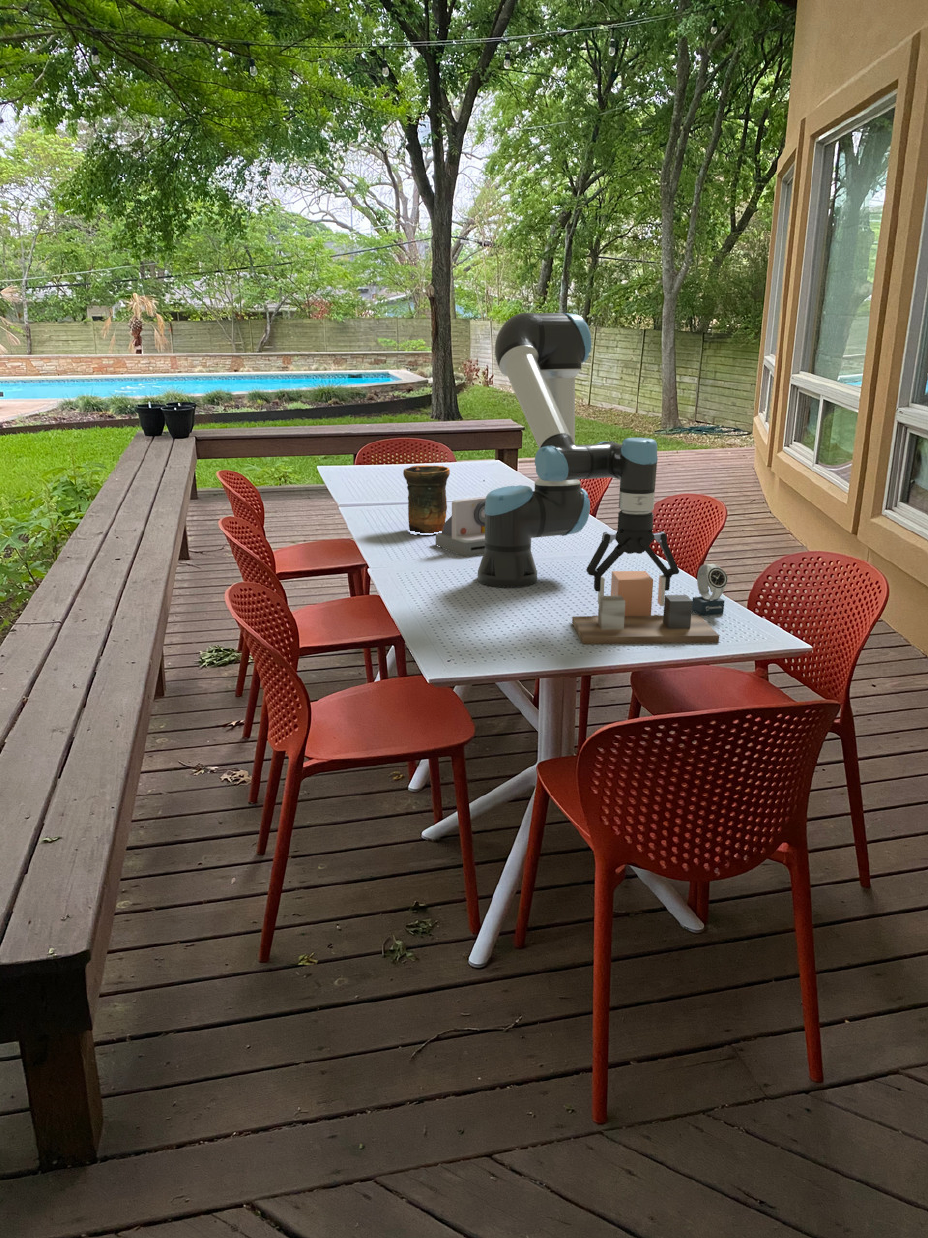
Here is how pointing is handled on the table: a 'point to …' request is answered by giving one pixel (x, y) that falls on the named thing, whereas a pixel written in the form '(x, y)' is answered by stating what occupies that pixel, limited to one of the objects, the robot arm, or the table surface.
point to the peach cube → (633, 591)
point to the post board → (644, 624)
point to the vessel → (426, 497)
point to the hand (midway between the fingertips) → (630, 604)
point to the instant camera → (465, 528)
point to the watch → (716, 582)
